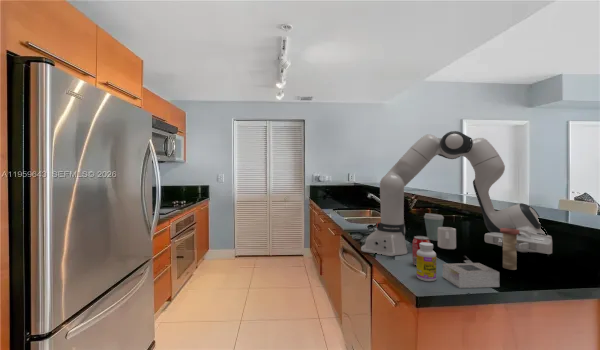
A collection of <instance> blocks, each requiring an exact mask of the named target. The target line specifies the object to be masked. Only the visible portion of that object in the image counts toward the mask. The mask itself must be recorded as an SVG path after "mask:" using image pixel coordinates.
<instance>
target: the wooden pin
mask: <svg viewBox="0 0 600 350" xmlns="http://www.w3.org/2000/svg"><path fill="white" fill-rule="evenodd" d="M500 232H501V233H503V246H502V268H503V269H506V270H510V271H515V270H517V269H518V268H517V267H518V266H517V263H518V261H517V259H518V258H517V257H518V256H517V255H518V254H517V252H518V251H517V249H516V248H515V247H516V246H515V244H517V234H520V230H518V229H512V228H500Z"/></svg>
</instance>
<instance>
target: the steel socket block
mask: <svg viewBox="0 0 600 350" xmlns="http://www.w3.org/2000/svg"><path fill="white" fill-rule="evenodd" d="M442 278H443V279H445V280H447V281H448V282H449V283H451V284H453V285H454V286H455V287H457V288H458V289H469V288H470V289H471V288H472V289H474V288H500V287H501V286H500V271H498V270H496V269H493V268H492V267H489V266H487V265H486V264H485V265H484V264H482V263H480V262H473V263H466V262H463V263H461V262H460V263H459V262H458V263H442Z"/></svg>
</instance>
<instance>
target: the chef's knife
mask: <svg viewBox="0 0 600 350" xmlns="http://www.w3.org/2000/svg"><path fill="white" fill-rule="evenodd" d="M462 257H463V258H464V259H466V260H463V263H474V262H473V261H472V260H471V259H470V258H469V257H468V256H467V255H465V254H464V255H463V256H462Z"/></svg>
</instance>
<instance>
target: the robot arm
mask: <svg viewBox="0 0 600 350" xmlns="http://www.w3.org/2000/svg"><path fill="white" fill-rule="evenodd" d="M436 156H439V157H442V158H445V159H448V160H456V159H459V158H460V157H465V158H466V160H468V161H469V163H470V165H471V167H472V168H473V171H474V179H473V181H472V185H473V190H474V193H475V196H476V198H477V202H478V205H479V207H480V210H481V212H482V216H483V220H484V221H483V222H484V225H485V227H486V230H488V231H489V232H487V233H485V234H484V242H485V243H486V244H492V245H496V246H499V247H503V233H501V232H500V228H512V229H518V230H520V234H517V244H515V246H516V247H515V248H516V249H517V252H520V253H528V252H529V253H539V254H547V255H551V254H553V237H552V235H549V234H547V235H546V234H545V232H544V231H543V230H542V229H541V227H542V226H541V223H540V222H539V219H538V218H539V217H540V214H539V213H538V212H537V210H535V208H534V207H532V206H530V205H528V204H525V203H521V202H520V203H517V204H514V205H511V206H508V207H505V208H503V209H499V210H496V209H495V208H494V205H493V203H492V199H491V197H490V193H489V192H490V189H491V187H492V186H493V185H494V184H495V183H496V182H497V181H499V179H500V178H501V177H502V176H503V175H504V173H505V167H506V165H505V163H504V161H503V159H502V157H501V155H500V154H499V153H498V151H497V150H496V148H495V147H494V146H493V145H492V144H491V142H490V141H488V140H487V139H486V138H484V137H477V138H472V137H470V136H468V135H466V134H465V133H463V132H461V131H459V130H453V131H452V130H451V131H449V132H446V133H445V134H444V135H443V136H442V137H441V138H439V137H437V136H435V135H433V134H431V133H430V134H425V135H423V136H422V137H421V138H419V139H418V140H417V141H415V143H414V144H412V146H410V147H409V149H408V150H407V151H406V152H405V153H404V154H403V155H402V156H401V157H400V159H399V160H398V161H397V162H396V163H395V164H394V165H393V166H392V167H391V169H389V171H388V172H387V173H386V174H385V175H384V176H383V177H382V178H381V180H380V182H379V198H380V199H379V201H380V221H377V223H376V230H374V231H373V232H371V234H369V235H368V236H367V237H366V240H365V243H364V244H363V245H362V246H361V247H360V251H361V252H364V253H370V254H375V253H377V254H376V255H381V254H382V255H381V256H387V257H394V256H400V255H407V254H408V249H407V245H406V237H405V235H406V223H405V219H404V217H405V216H404V215H405V212H404V211H405V207H404V205H405V202H404V201H405V187H406V186H407V185H408V184H409V183H411V181H412V180H413V179H414V178H415V177H416V176H417V175H419V173H420V172H422V170H423V169H424V168H425V167H426V166H427V165H428V164H429V163H430V161H432V159H433V158H435V157H436Z"/></svg>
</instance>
